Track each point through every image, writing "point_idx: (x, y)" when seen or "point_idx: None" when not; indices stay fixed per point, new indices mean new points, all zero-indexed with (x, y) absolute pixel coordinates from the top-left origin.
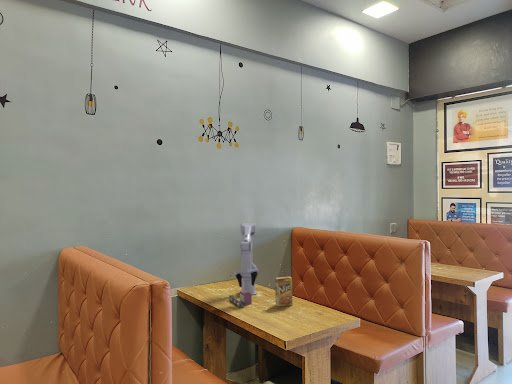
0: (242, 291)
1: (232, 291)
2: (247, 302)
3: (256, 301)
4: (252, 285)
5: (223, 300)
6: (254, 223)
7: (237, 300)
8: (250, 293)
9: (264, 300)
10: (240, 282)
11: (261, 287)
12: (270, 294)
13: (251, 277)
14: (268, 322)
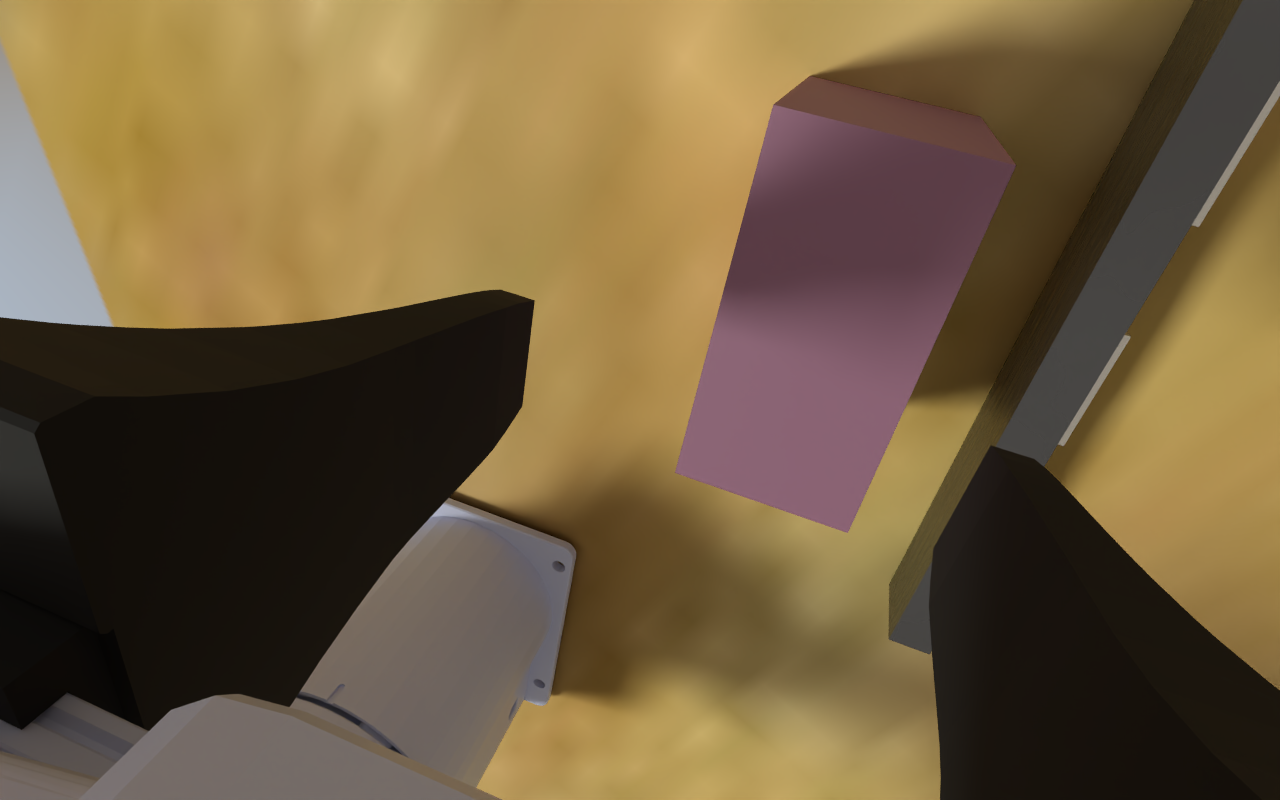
0: (812, 467)
1: (617, 783)
2: (915, 108)
3: (614, 166)
4: (377, 613)
5: None
6: None
7: (1109, 298)
8: (782, 142)
9: (454, 106)
10: (1138, 580)
11: None
12: (238, 320)
13: (357, 589)
14: None
